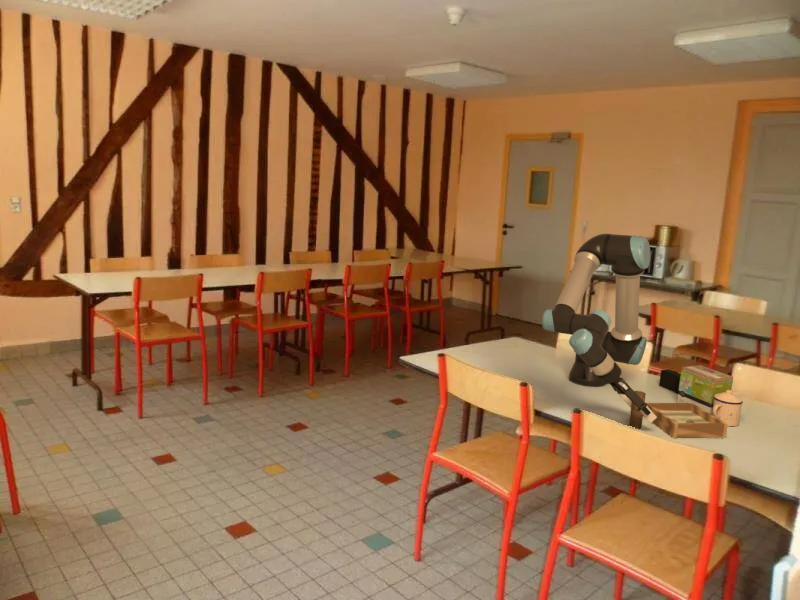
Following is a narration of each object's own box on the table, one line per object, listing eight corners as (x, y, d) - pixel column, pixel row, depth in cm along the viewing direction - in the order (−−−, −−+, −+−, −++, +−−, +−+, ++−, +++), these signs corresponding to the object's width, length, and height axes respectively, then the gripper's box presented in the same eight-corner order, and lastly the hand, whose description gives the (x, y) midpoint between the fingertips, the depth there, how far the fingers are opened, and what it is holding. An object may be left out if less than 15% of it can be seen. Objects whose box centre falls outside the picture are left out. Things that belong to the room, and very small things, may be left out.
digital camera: (688, 393, 250) (690, 376, 249) (677, 394, 248) (680, 377, 247) (669, 385, 260) (671, 369, 258) (659, 385, 258) (661, 369, 257)
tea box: (675, 403, 236) (680, 366, 234) (695, 401, 240) (700, 364, 238) (709, 417, 223) (714, 377, 220) (728, 414, 227) (734, 375, 224)
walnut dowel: (626, 424, 212) (630, 390, 210) (637, 424, 212) (642, 390, 210) (632, 429, 208) (636, 394, 206) (643, 429, 208) (647, 394, 206)
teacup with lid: (720, 416, 225) (724, 385, 223) (744, 424, 217) (749, 392, 215) (699, 421, 219) (704, 389, 216) (724, 430, 211) (729, 397, 209)
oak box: (643, 416, 221) (644, 402, 220) (691, 416, 223) (692, 403, 222) (673, 438, 201) (675, 423, 200) (725, 438, 203) (727, 424, 202)
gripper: (582, 365, 217) (619, 407, 222) (612, 387, 193) (653, 434, 198) (598, 351, 217) (634, 393, 221) (631, 371, 193) (671, 418, 197)
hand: (643, 412), depth 209 cm, fingers open, 12 cm apart
